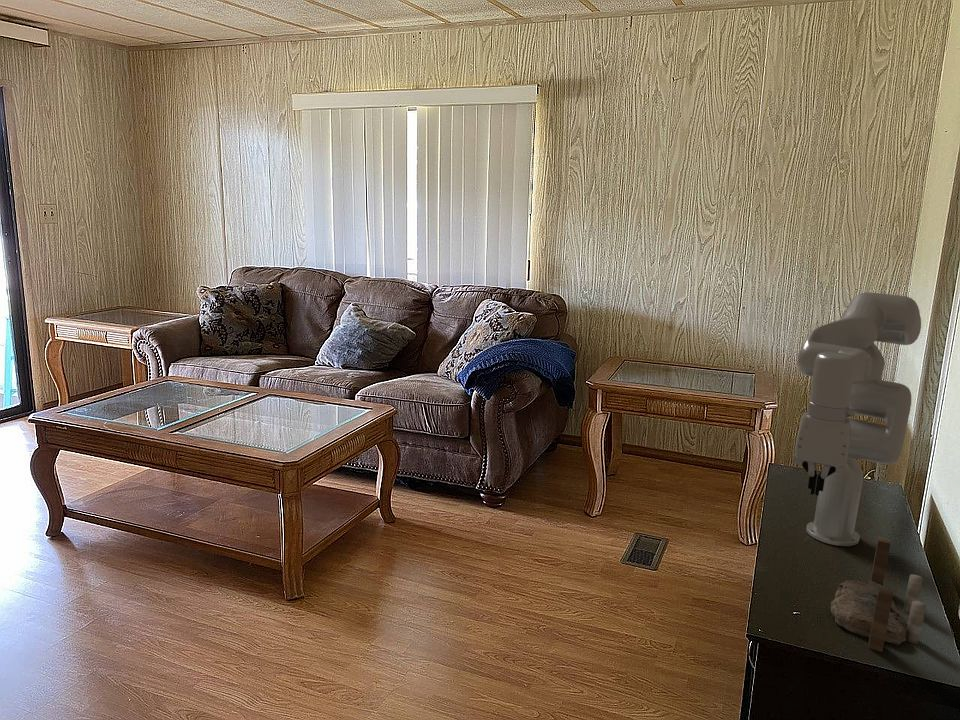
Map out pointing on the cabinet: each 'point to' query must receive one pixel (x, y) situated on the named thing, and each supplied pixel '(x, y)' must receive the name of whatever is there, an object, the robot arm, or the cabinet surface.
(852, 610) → the clay tablet
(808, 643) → the cabinet surface
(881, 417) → the robot arm
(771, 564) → the cabinet surface
